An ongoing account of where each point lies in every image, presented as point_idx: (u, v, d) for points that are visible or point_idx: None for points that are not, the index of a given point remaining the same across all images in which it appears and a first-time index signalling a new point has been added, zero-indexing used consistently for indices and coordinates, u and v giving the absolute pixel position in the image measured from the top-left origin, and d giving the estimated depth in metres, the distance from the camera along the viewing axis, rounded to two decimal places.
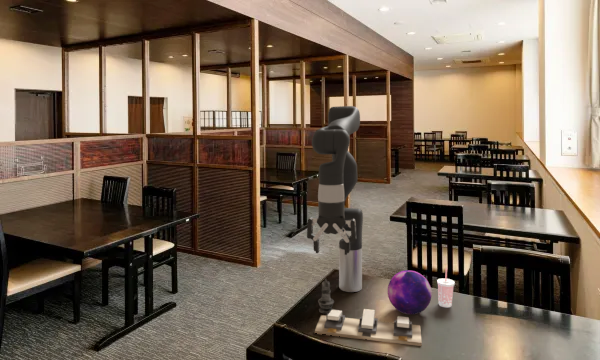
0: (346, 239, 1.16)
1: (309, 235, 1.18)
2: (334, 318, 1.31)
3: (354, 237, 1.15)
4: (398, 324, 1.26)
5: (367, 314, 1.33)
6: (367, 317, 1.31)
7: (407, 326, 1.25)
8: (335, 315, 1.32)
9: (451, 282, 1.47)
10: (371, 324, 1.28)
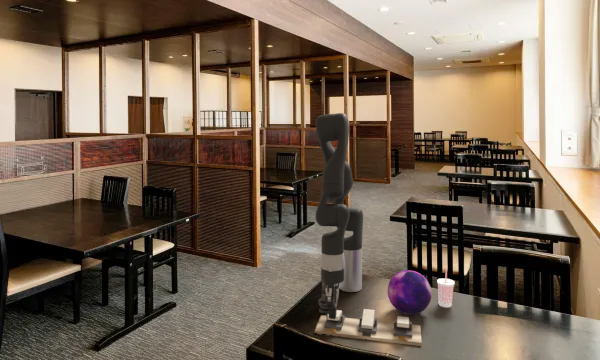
0: (336, 302, 1.31)
1: (334, 305, 1.27)
2: None
3: None
4: (398, 324, 1.26)
5: (367, 314, 1.33)
6: (367, 317, 1.31)
7: (407, 326, 1.25)
8: None
9: (451, 282, 1.47)
10: (371, 324, 1.28)
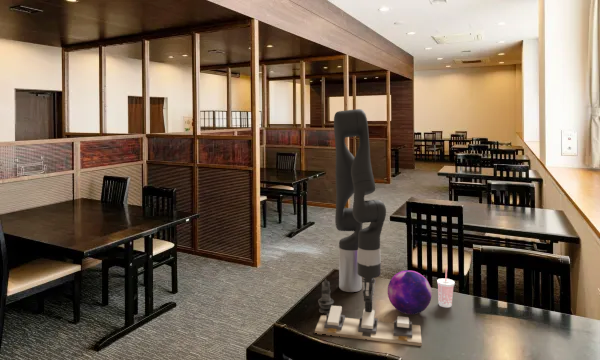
0: (372, 296, 1.34)
1: (371, 299, 1.31)
2: (334, 324, 1.31)
3: None
4: (398, 324, 1.26)
5: (367, 314, 1.33)
6: (367, 317, 1.31)
7: (407, 326, 1.25)
8: (335, 320, 1.31)
9: (451, 282, 1.47)
10: (371, 324, 1.28)
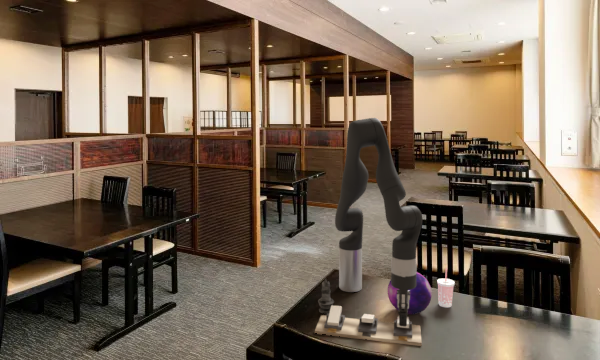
0: None
1: (407, 312, 1.22)
2: (334, 324, 1.31)
3: None
4: (398, 324, 1.26)
5: (367, 315, 1.33)
6: (367, 316, 1.32)
7: (407, 326, 1.25)
8: (335, 320, 1.31)
9: (451, 282, 1.47)
10: (371, 318, 1.28)
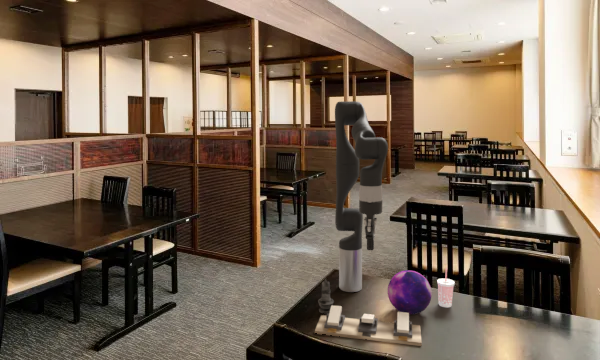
0: None
1: (373, 236, 1.31)
2: (334, 324, 1.31)
3: (374, 232, 1.37)
4: (398, 330, 1.26)
5: (367, 315, 1.33)
6: (367, 316, 1.32)
7: (407, 332, 1.25)
8: (335, 320, 1.31)
9: (451, 282, 1.47)
10: (371, 318, 1.28)
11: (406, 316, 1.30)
